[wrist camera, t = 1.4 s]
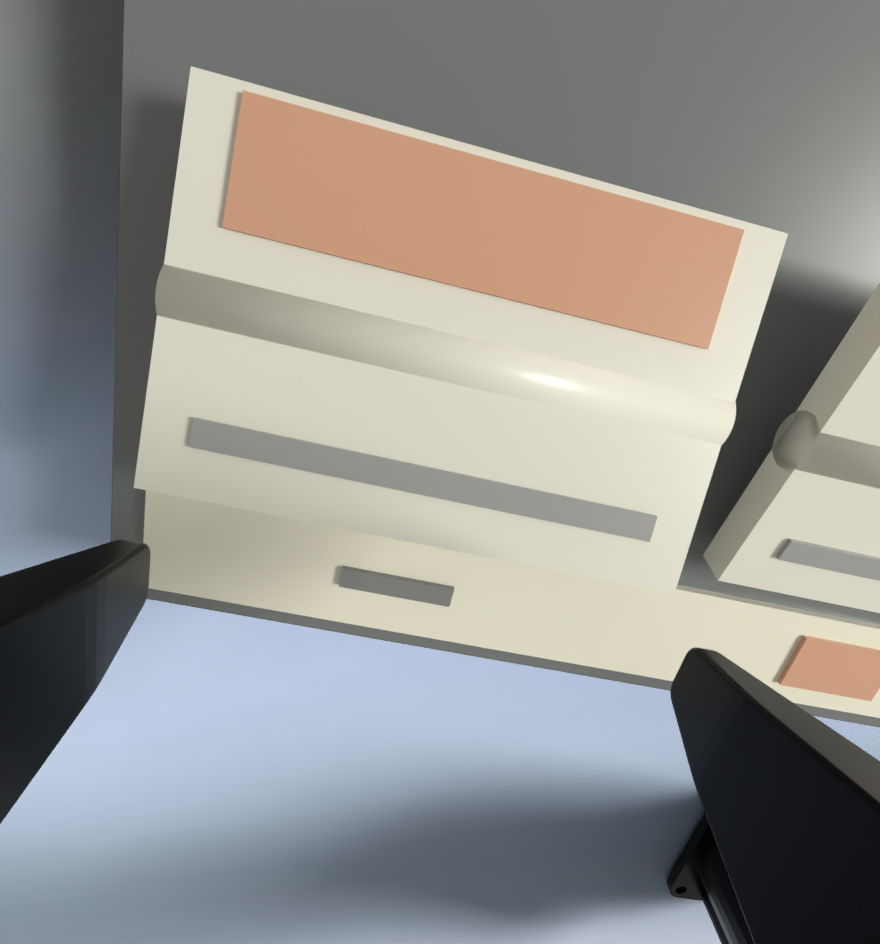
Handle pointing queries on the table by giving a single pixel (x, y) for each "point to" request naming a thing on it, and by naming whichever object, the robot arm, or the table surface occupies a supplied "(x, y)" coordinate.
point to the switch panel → (576, 151)
